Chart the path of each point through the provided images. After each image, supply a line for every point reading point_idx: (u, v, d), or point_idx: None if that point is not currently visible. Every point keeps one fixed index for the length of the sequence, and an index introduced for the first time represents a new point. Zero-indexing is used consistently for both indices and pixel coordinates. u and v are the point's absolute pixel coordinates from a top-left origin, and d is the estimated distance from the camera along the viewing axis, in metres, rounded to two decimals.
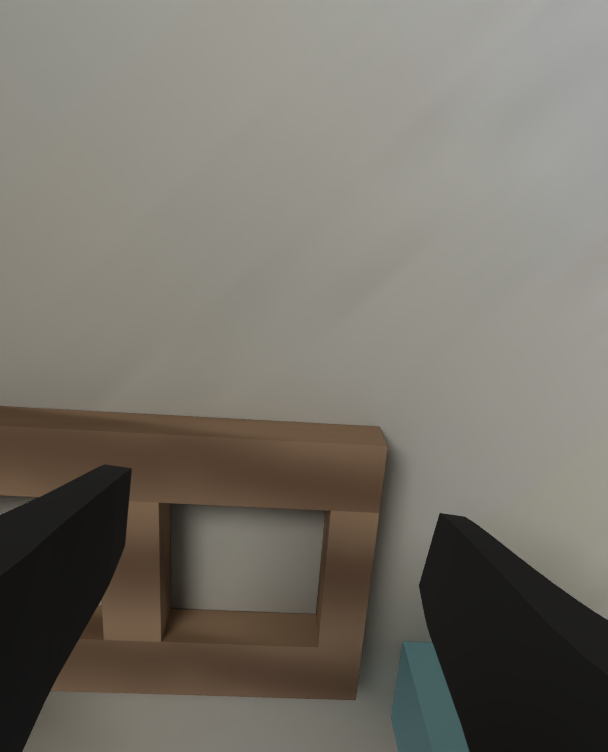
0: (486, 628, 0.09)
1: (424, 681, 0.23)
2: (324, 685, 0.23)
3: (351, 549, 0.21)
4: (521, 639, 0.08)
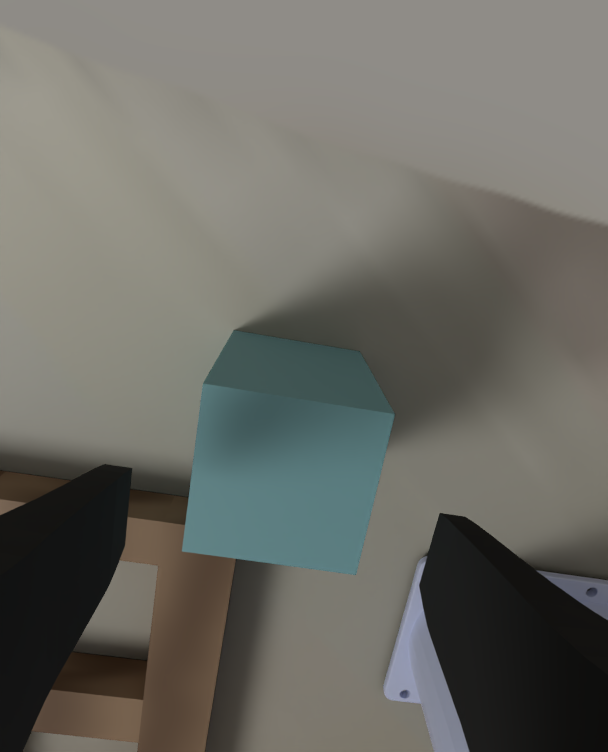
0: (486, 628, 0.09)
1: None
2: (214, 562, 0.20)
3: None
4: (521, 639, 0.08)
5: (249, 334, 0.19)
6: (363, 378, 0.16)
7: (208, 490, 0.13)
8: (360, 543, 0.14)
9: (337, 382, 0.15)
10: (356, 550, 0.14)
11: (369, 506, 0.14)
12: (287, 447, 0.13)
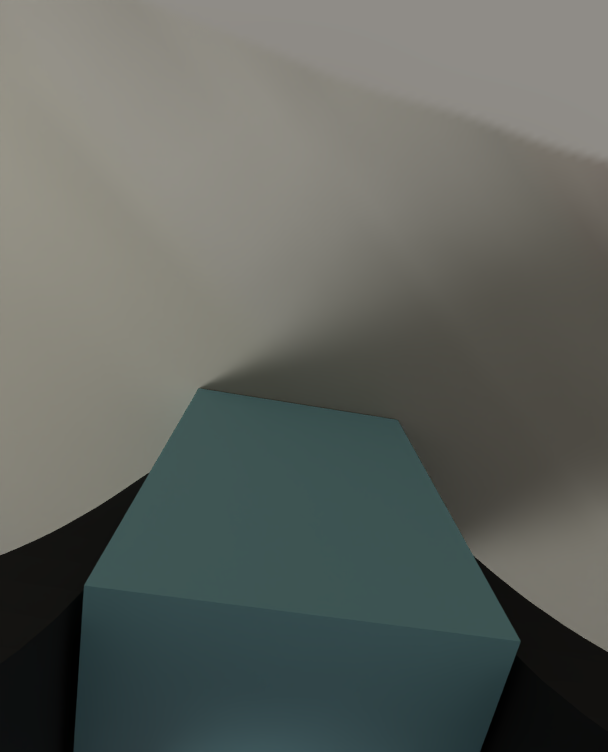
0: None
1: None
2: None
3: None
4: None
5: (222, 396, 0.12)
6: (421, 500, 0.09)
7: None
8: None
9: (379, 522, 0.08)
10: None
11: None
12: (281, 707, 0.06)
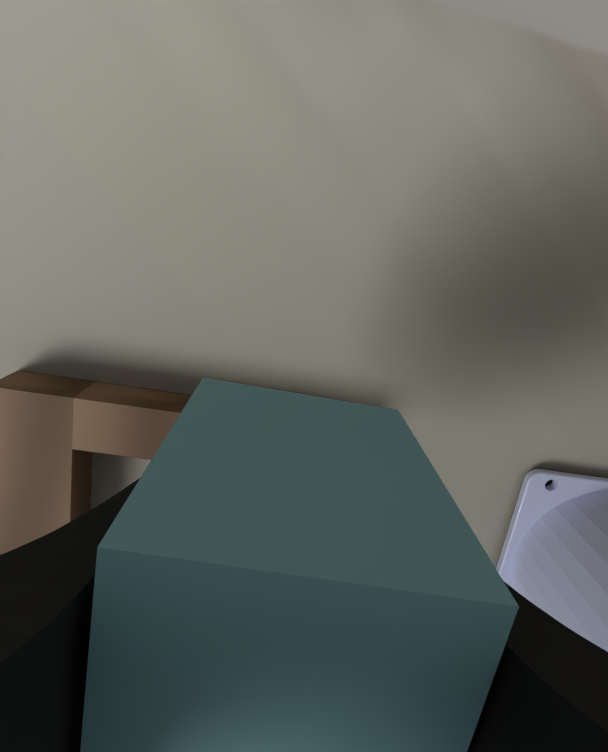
0: None
1: None
2: None
3: (123, 430, 0.18)
4: None
5: (226, 385, 0.12)
6: (422, 481, 0.09)
7: (120, 749, 0.06)
8: None
9: (381, 499, 0.08)
10: None
11: None
12: (286, 670, 0.06)
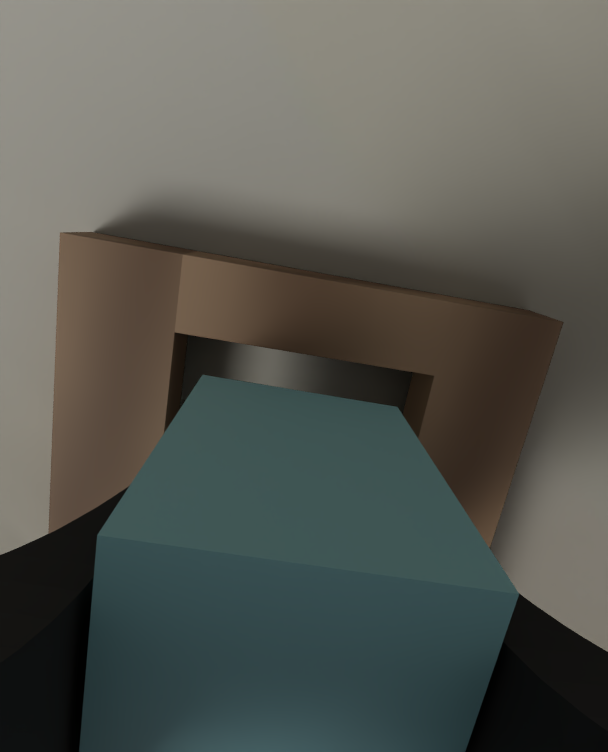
0: None
1: None
2: (516, 372, 0.13)
3: (248, 305, 0.13)
4: None
5: (226, 382, 0.12)
6: (421, 474, 0.09)
7: (120, 741, 0.06)
8: None
9: (381, 492, 0.08)
10: None
11: None
12: (286, 660, 0.06)
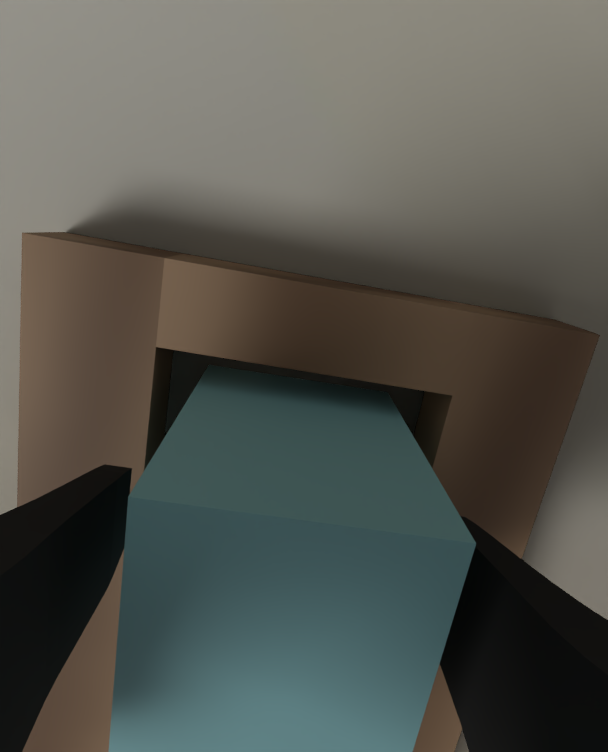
0: (486, 628, 0.09)
1: None
2: (545, 391, 0.12)
3: (240, 315, 0.11)
4: (521, 639, 0.08)
5: (230, 371, 0.13)
6: (403, 450, 0.10)
7: (148, 669, 0.08)
8: (409, 744, 0.08)
9: (365, 464, 0.09)
10: None
11: (426, 689, 0.08)
12: (284, 600, 0.07)
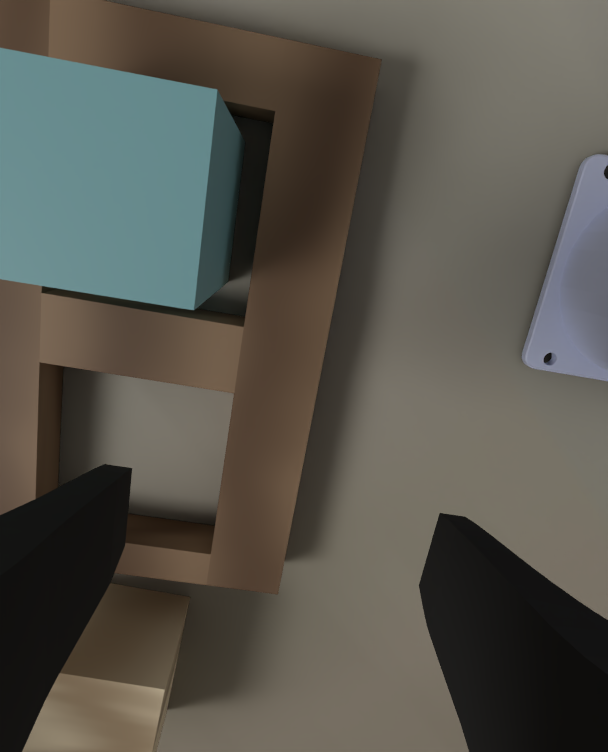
0: (486, 628, 0.09)
1: None
2: (345, 108, 0.16)
3: (109, 39, 0.15)
4: (521, 639, 0.08)
5: None
6: None
7: (10, 193, 0.12)
8: (195, 267, 0.12)
9: None
10: (191, 277, 0.12)
11: (200, 217, 0.12)
12: (95, 135, 0.11)
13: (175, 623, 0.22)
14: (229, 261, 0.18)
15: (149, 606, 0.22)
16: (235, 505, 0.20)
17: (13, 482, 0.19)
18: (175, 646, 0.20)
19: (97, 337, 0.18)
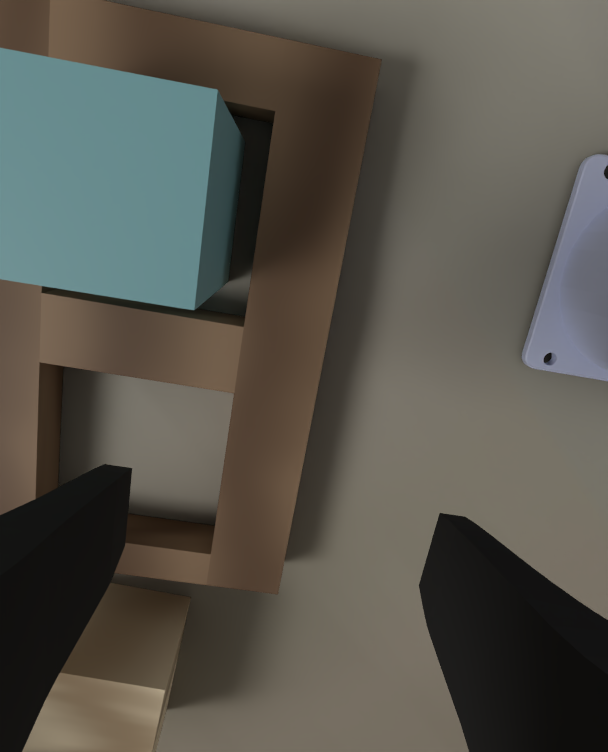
0: (486, 628, 0.09)
1: None
2: (345, 108, 0.16)
3: (109, 39, 0.15)
4: (521, 639, 0.08)
5: None
6: None
7: (10, 193, 0.12)
8: (195, 267, 0.12)
9: None
10: (192, 277, 0.12)
11: (201, 217, 0.12)
12: (96, 135, 0.11)
13: (176, 623, 0.22)
14: (229, 261, 0.18)
15: (149, 606, 0.22)
16: (235, 505, 0.20)
17: (13, 482, 0.19)
18: (175, 647, 0.20)
19: (97, 337, 0.18)
